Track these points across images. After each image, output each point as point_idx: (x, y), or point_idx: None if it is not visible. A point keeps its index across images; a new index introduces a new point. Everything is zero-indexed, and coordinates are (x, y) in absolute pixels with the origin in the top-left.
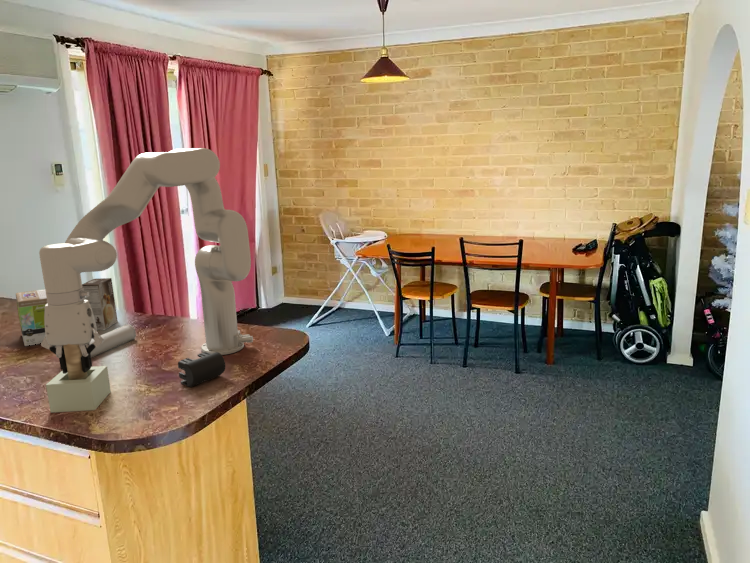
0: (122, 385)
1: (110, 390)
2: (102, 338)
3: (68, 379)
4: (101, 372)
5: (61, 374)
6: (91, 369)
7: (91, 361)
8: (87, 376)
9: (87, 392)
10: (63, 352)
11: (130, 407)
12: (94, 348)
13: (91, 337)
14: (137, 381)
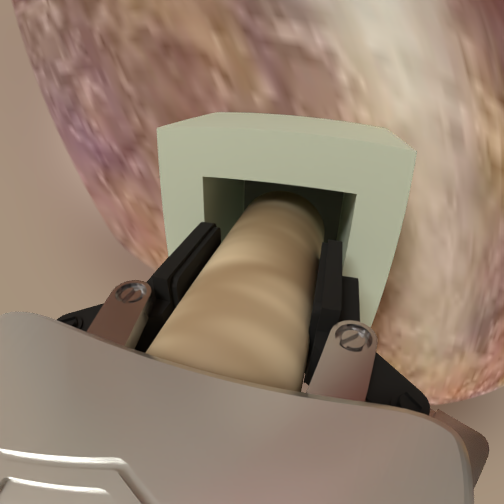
0: (417, 72)
1: (387, 129)
2: (482, 466)
3: (217, 195)
4: (397, 238)
5: (182, 222)
6: (330, 186)
7: (358, 293)
8: (322, 238)
9: None
10: (152, 339)
11: (459, 285)
12: (402, 386)
13: (389, 417)
14: (465, 53)
